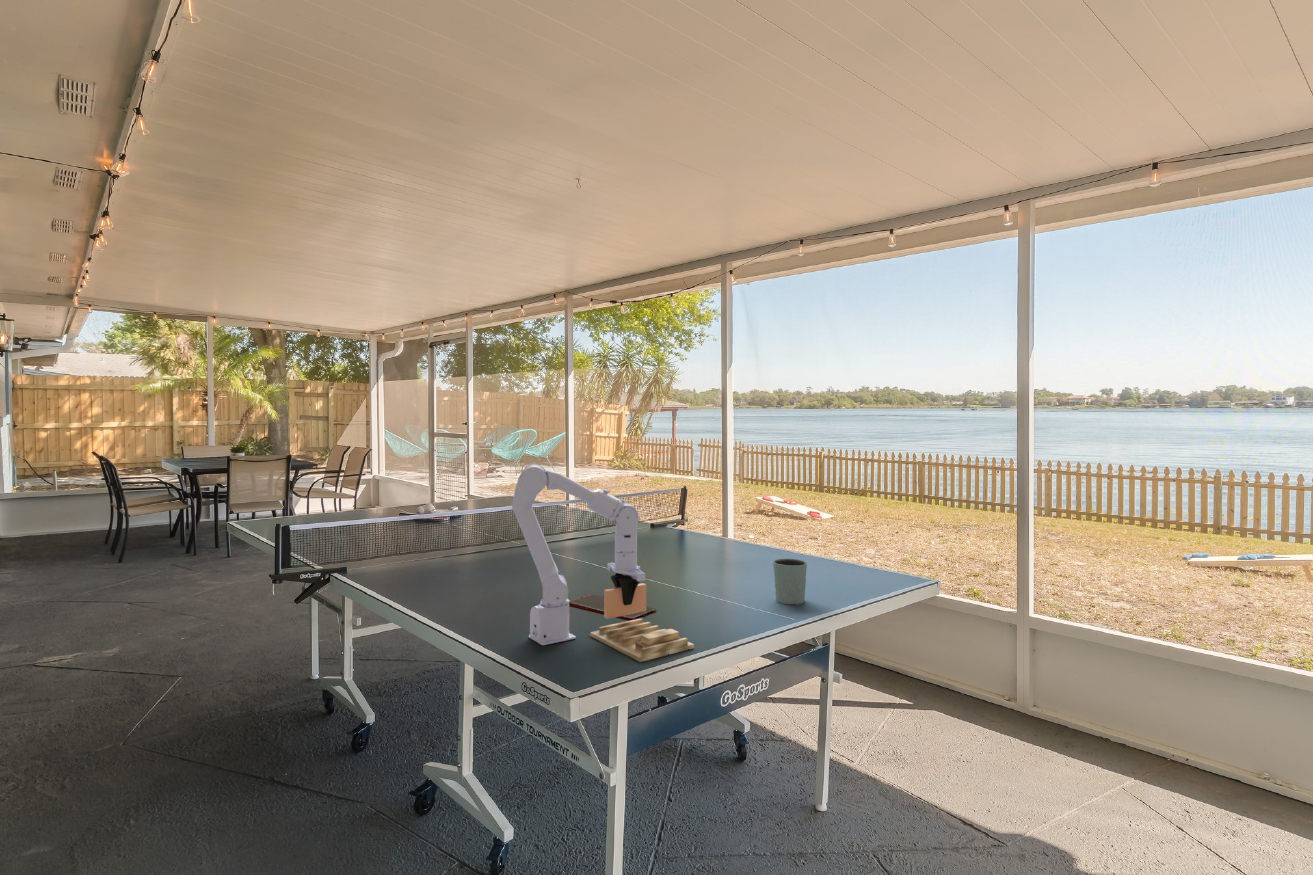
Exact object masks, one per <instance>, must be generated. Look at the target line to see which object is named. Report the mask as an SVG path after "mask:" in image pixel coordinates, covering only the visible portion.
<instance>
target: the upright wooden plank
mask: <svg viewBox="0 0 1313 875" xmlns="http://www.w3.org/2000/svg"><path fill="white" fill-rule="evenodd" d="M603 596H604V614H603V618H604V619H606V620H609V619H615V618H617V617H619V616H624V615H629V614H634V613H639V612H643V611H646V607H647V584H646V583H644V582H643V583H642V582H641V583H639V584H638V586H637V588H636V590H635V593H634V597H633V601H632V604H630V605H624V603H623V595H622V588H621V587H618V588H615V587H612V588H608V589H603Z"/></svg>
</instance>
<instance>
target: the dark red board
mask: <svg viewBox="0 0 1313 875" xmlns="http://www.w3.org/2000/svg"><path fill="white" fill-rule="evenodd" d="M569 607H575V608H578V609H581V610H586V611H588V612H589V611H590V612H594V613H597V614H600V615H604V595H600V594H596V593H593V594H589V595H585V596H580V597H578V598H575V599H572V600H571V599H570V600H569ZM655 612H656V613H657V610H656V608H654V607H649V606H646V611H643V612H639V613H634V614H629V615H624V616H619V617H616V618H618V619H622V620H626V621H631V620H636V619H640V618H644V617H646V616H648V615H652V614H654V613H655Z"/></svg>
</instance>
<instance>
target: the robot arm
mask: <svg viewBox="0 0 1313 875" xmlns="http://www.w3.org/2000/svg"><path fill="white" fill-rule="evenodd" d="M545 487H546V489H547V490H548V491H551V490H560V491H563V492H565V493H566V494H568V495H570V496H573V497H575V498H577V499H580V500H581V501H583V502H585V503H586V504H587V508H588V510H590V511H591V512H594V513H595V514H597V515H599V516H602V517H603V518H605V519H607V520H609V521H615V522H616V523H615V533H614V562H608V563H607V564H606V565H607V567H606V568H607V571H609V572H614V573H615V574H613V575H611V576H610V579H611V581H612V583H613V585H614V588H618V587H621V588H622V595H623V603H624V605H630V604H632V601H633V597H634V593H635V590H636V588H637V586H638V584H640V582H643V581H646V573H645V572H644V571H642V570H641V566H640V565H638V533H637V530H638V526H637V525H638V523H639V521H640V516H639V512H638V511H637V509H636V508H635V507H634V506H633V505H632V504H630V503H629V502H628V501H627V502H626V500H625V499H623V498H621V499H619V498H617V497H616V496H613V495H612V494H609V490H607V489H605V488H603V490H602V489H600V488H598V489H595V490H590V488H587V487H586V486H584V485H582V484H580V483H578V482H577V481H575V480H573V479H572V478H569V477H568V476H566V475H565V474H562V473H560V472H558V471H555V470H554V469H550V468H547V467H545V468H544V467H543V466H541V465H539V464H538V463H532V464H529V465H527V466H526V467H524V469H523V470H522V472H521V474H520V475H519V477H518V478H517V482H516V486H515V489H514V493H513V494H514V495H513V498H512V501H511V507H512V511H513V513H514V516H515V518H516V520H517V522H518V526H519V527H520V530H521V532H522V535H523V538H524V540H525V542H526V545H527V547H528V550H529V553H530V556H531V557H532V559H533V562H534V565H535V567H536V569H537V572H538V575H539V579H540V582H541V586H542V587H541V588H542V599H540V603H539V604H538V605H535V606H532V607H531V609H530V611H529V635H528V638H529V639H531V640H533V641H534V642H536V643H537V644H539V645H541V646H547V645H551V644H555V643H560V642H566V641H570V640H574V639H577V636H576V635H574V634H573V633H570V605H569V601H570V599H569V598H568V597H569V588H568V581H567V578H566V577H565V576H564V575H563V574H562V573H561V572H560V571H559V569H558V565H557V564H556V562H555V560H554V558H553V555H552V553H551V550H550V548H549V545H548V543H547V541H546V538H545V537H546V536H545V535H544V533H543V530H542V528H541V525H540V522H539V519H538V517H537V514H536V512H535V510H534V507H533V504H534V502H535V500H536V498H537V496H538V495H539V494H540V493H541V492H542V491H543V490H544V488H545Z"/></svg>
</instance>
